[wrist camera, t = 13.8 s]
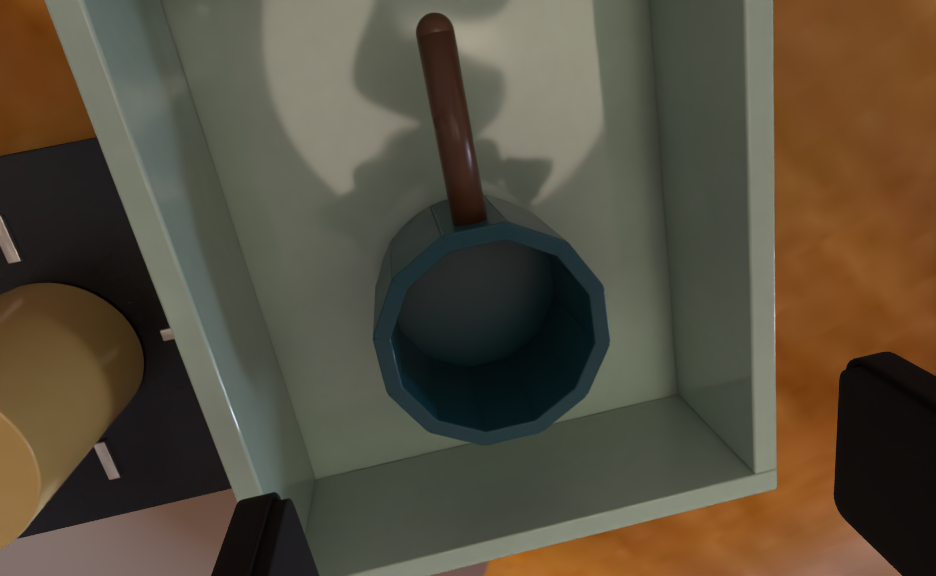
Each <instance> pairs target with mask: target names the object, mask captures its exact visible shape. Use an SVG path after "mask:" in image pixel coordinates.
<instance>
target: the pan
mask: <svg viewBox="0 0 936 576" xmlns="http://www.w3.org/2000/svg"><path fill="white" fill-rule="evenodd" d="M416 39H417V44H418V49H419V54H420V60H421V65H422V70H423V75H424V80H425V85H426V90H427V95H428V100H429V106H430V111H431V116H432V121H433V126H434V131H435V136H436V141H437V146H438V152H439V157H440V162H441V167H442V172H443V177H444V182H445V187H446V192H447V198H448V199H447V200H443V201H440V202H438V203H436V204H433V205H431V206H429V207H427V208H426V209H424V210H422V211H421V212H419V213H418V214H416V215H415V216H414V217H413V218H411V219H410V220H409V221H408V222H407V223H406V224H405V225H404V226H403V227H402V228H401V229H400V230H399V232H398V233H397V234H396V236H395V237H394V238H392V240H391V241H390V243H389V246H388V249H387V251H386V253H385V256H384V258H383V261H382V265H381V269H380V273H379V277H378V280H377V283H376V286H375V304H374V324H373V343H374V347H375V351H376V355H377V358H378V362H379V366H380V370H381V374H382V378H383V381H384V385H385V389H386V392H387V393H388V396H390V397H391V398H392V399H393V400H394V401H395V402H396V403H397V404H398V405H399V406H400V407H401V408H402V409H404V410H405V411H406V412H407V413H408V414H409V415H410V416H411V417H412V418H413V419H414V420H415V421H416V422H418V423H419V424H420V425H421V426H422V427H423V428H424V429H425V430H426V431H427V432H430V433H432V434H436V435H440V436H444V437H449V438H453V439H457V440H461V441H466V442H470V443H474V444H478V445H482V446H483V445H491V444H495V443H500V442H504V441H508V440H512V439H517V438H521V437H525V436H529V435H534V434H538V433H541V431H542V432H543V431H544V430H546V429H547V428H548V427H549V426H551V425H552V424H553V423H554V422H555V421H557V420H558V419H559V418H560V417H562V416H563V415H564V414H565V413H567V412H568V411H569V410H570V409H572V408H573V407H574V406H575V405H577V404H578V403H579V402H580V401H581V400H583V399H584V398H585V397H586V395H588V393H589V391H590V389H591V386H592V384H593V382H594V380H595V377H596V375H597V373H598V371H599V368H600V366H601V364H602V362H603V359H604V357H605V355H606V353H607V350H608V348H609V346H610V332H609V323H608V314H607V305H606V296H605V288H604V286H603V284H602V283H601V282H600V280H599V279H598V278H597V277H596V275H595V274H594V273H593V272H592V271H591V269H590V268H589V267H588V266H587V264H586V263H585V262H584V261H583V260H582V258H581V257H580V256H579V255H578V253H577V252H576V251H575V250H574V248H573V247H572V246H571V245H570V244H569V242H567V241H566V240H565V239H564V238H563V237H561V236H560V235H559V234H558V233H556V232H555V231H554V230H553V229H552V228H550V227H549V226H548V225H547V224H546V223H544V222H543V221H542V220H541V219H540V218H538V217H537V216H536V215H535V214H534V213H532V212H531V211H529V210H527V209H524V208H521V207H518V206H516V205H515V204H512V203H510V202H507V201H505V200H502V199H498V198H494V197H489V196H486V195H483V191H482V186H481V180H480V174H479V169H478V163H477V157H476V151H475V146H474V140H473V134H472V129H471V123H470V117H469V111H468V106H467V100H466V94H465V88H464V83H463V77H462V71H461V66H460V60H459V54H458V48H457V43H456V37H455V31H454V27H453V25H452V22H451V21H450V20H449V18H447V17H446V16H445V15H443V14H441V13H437V12H433V13H428V14H426V15H425V16H423V17H422V18H421V19H420V21H419V22H418V24H417V27H416Z"/></svg>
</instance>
